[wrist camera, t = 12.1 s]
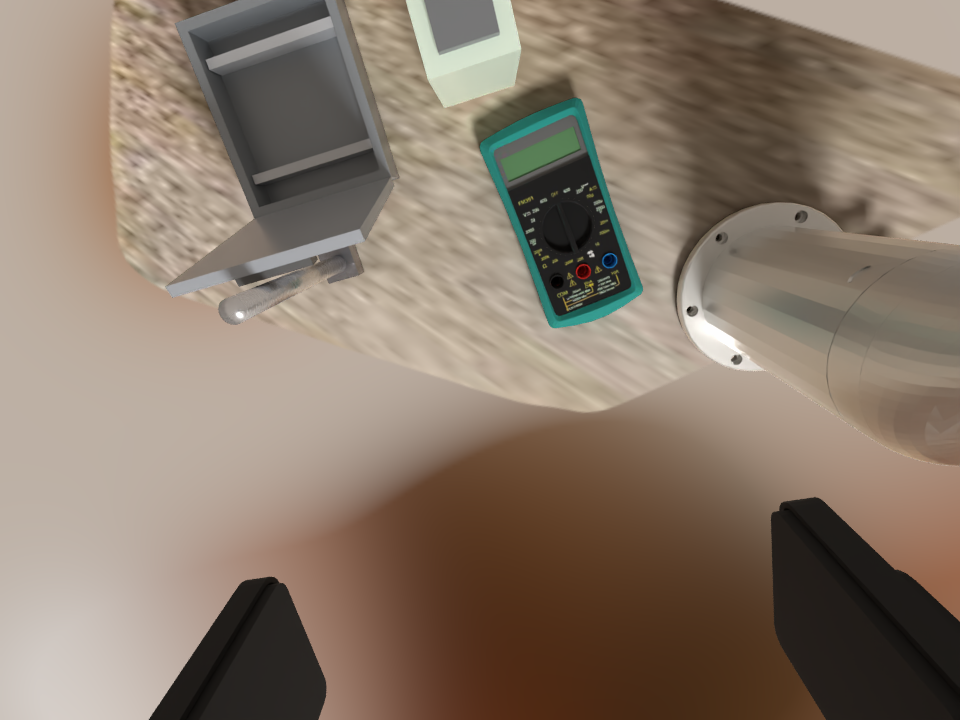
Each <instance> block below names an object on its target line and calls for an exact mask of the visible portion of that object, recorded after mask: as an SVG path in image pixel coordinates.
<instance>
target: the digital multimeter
mask: <svg viewBox="0 0 960 720" xmlns="http://www.w3.org/2000/svg"><path fill="white" fill-rule="evenodd" d="M499 147H500V148H499ZM497 148H498V149H497ZM480 151H481V154H482V156H483V158H484V161H485V163H486V165H487V167H488V170H489V172H490V174H491V176H492V179H493V181H494V183H495V185H496V188H497V190H498V192H499V194H500V197H501V199H502V201H503V203H504V206H505V208H506V211H507V213H508V215H509V218H510V220H511V223H512V225H513V228H514V230H515V233H516V235H517V237H518V240H519V242H520V245H521V247H522V250H523V253H524V256H525V258H526V261H527V264H528V267H529V269H530V272H531V275H532V278H533V280H534V283H535V286H536V289H537V292H538V294H539V297H540V300H541V303H542V306H543V309H544V312H545V315H546V318H547V321H548V323H549V325H550V326H551V327H552V328H560V327H567V326H573V325H578V324H582V323H587V322H591V321H594V320H596V319H599V318H601V317H604V316H606V315H609V314H610V313H612V312H614V311H616V310H617V309H619V308H621V307H623V306H624V305H626V304H627V303H629V302H630V301H631V300H633V299H634V298H636V297H637V296H639V295H640V294H641V293H642V291H643V286H642V284H641V281H640V278H639V276H638V273H637V271H636V268H635V266H634V263H633V260H632V258H631V255H630V253H629V250H628V247H627V244H626V242H625V239H624V236H623V233H622V231H621V228H620V225H619V222H618V219H617V217H616V214H615V211H614V208H613V205H612V202H611V198H610V195H609V192H608V189H607V186H606V182H605V179H604V176H603V173H602V170H601V167H600V163H599V160H598V156H597V152H596V149H595V145H594V142H593V138H592V134H591V131H590V127H589V124H588V120H587V116H586V113H585V109H584V106H583V103H582V101H581V99H579V98H572V99H569V100H567V101H564V102H561V103H558V104H556V105H553V106H551V107H548V108H546V109H543V110H541V111H538V112H536V113H534V114H531V115H529V116H527V117H525V118H523V119H521V120H519V121H517V122H515V123H513V124H511V125H509V126H508V127H506V128H504V129H502V130H500V131H499V132H497V133H495V134H493V135H492V136H490V137H488V138H487V139H485V140H484V141H482V142H481V144H480ZM568 198H569V199H568ZM587 206H588V207H587ZM593 216H594V217H593ZM540 221H541V222H540ZM541 238H542V239H541ZM556 253H557V254H556ZM537 268H538V269H537ZM542 281H543V282H542ZM544 286H545V287H544ZM617 293H618V294H617ZM547 294H548V295H547ZM612 295H613V296H612ZM607 297H608V298H607ZM549 299H550V300H549ZM602 299H603V300H602ZM597 301H598V302H597ZM592 303H593V304H592ZM551 304H552V305H551ZM587 305H588V306H587ZM582 307H583V308H582ZM577 309H578V310H577ZM572 311H573V312H572Z"/></svg>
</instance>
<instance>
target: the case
mask: <svg viewBox="0 0 960 720" xmlns="http://www.w3.org/2000/svg"><path fill="white" fill-rule="evenodd" d="M175 25H176V28H177V30H178V33H179V35H180V37H181V40H182V42H183V45H184V47H185V50H186V52H187V55H188V57H189V59H190V62H191V64H192V67H193V69H194V72H195V74H196V77H197V79H198V81H199V84H200V86H201V89H202V91H203V94H204V96H205V99H206V101H207V103H208V106H209V108H210V111H211V113H212V116H213V118H214V121H215V123H216V125H217V128H218V130H219V133H220V135H221V138H222V140H223V143H224V145H225V147H226V150H227V152H228V155H229V157H230V160H231V162H232V165H233V167H234V169H235V172H236V174H237V177H238V179H239V182H240V184H241V187H242V189H243V191H244V194H245V196H246V199H247V201H248V204H249V206H250V209H251V211H252V213H253V216H254V218H258V217H261V216H265V215H268V214H271V213H274V212H278V211H281V210H284V209H287V208H291V207H294V206H297V205H300V204H304V203H307V202H310V201H313V200H317V199H320V198H323V197H327V196H330V195H333V194H336V193H340V192H343V191H346V190H349V189H353V188H356V187H359V186H362V185H366V184H369V183H372V182H375V181H379V180H382V179H385V178H388V177H392V180H394V179H398V178H399V175H398V172H397V169H396V165H395V162H394V159H393V156H392V153H391V149H390V146H389V143H388V140H387V137H386V133H385V130H384V127H383V124H382V121H381V117H380V114H379V111H378V108H377V105H376V101H375V98H374V95H373V92H372V88H371V85H370V82H369V79H368V76H367V72H366V69H365V66H364V63H363V60H362V56H361V53H360V50H359V47H358V44H357V40H356V37H355V34H354V31H353V28H352V24H351V21H350V18H349V15H348V12H347V8H346V5H345V2H344V0H238V1H235V2H232V3H230V4H227V5H224V6H221V7H219V8H216V9H213V10H210V11H207V12H205V13H202V14H199V15H196V16H194V17H191V18H188V19H185V20H183V21H180V22H177V23H175Z"/></svg>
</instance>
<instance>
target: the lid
mask: <svg viewBox="0 0 960 720" xmlns="http://www.w3.org/2000/svg"><path fill="white" fill-rule="evenodd" d="M393 187H394V183H393V180H392V177H388V178H385V179H382V180H379V181H375V182H372V183H369V184H366V185H362V186H359V187H356V188H353V189H349V190H346V191H343V192H340V193H336V194H333V195H330V196H327V197H323V198H320V199H317V200H313V201H310V202H307V203H304V204H300V205H297V206H294V207H291V208H287V209H284V210H281V211H278V212H274V213H271V214H268V215H265V216H261V217H258V218H255V219H253V220H252V221H251V222H249V223H248V224H247V225H246V226H244V227H243V228H242V229H240V230H239V231H238V232H236V233H235V234H234V235H232V236H231V237H230V238H228V239H227V240H226V241H224V242H223V243H222V244H221V245H219V246H218V247H217V248H215V249H214V250H213V251H211V252H210V253H209V254H207V255H206V256H205V257H203V258H202V259H201V260H200V261H198V262H197V263H196V264H194V265H193V266H192V267H190V268H189V269H188V270H186V271H185V272H184V273H182V274H181V275H180V276H178V277H177V278H176V279H175V280H173V281H172V282H171V283H169V284H168V285H167V286H165V287H166V289H167V290H168V292H169V293H170V295H171V296H172V298H173V297H176V296H180V295H183V294H187V293H190V292H193V291H197V290H200V289H204V288H207V287H211V286H214V285H217V284H221V283H224V282H228V281H231V280H234V279H235V280H236V282H237V284H238V286H239V287H240V286H243V285H246V284H250V283H253V282H257V281H260V280H264V279H267V278H270V277H274V276H277V275H281V274H284V273H288V272H291V271H295V270H298V269H301V268H305V267H308V266H312V265H314V264H315V262H316V261H317V260H318V259H317V257H316V255H320V254H323V253H326V252H330V251H333V250H337V249H340V248H344V247H347V246H350V245H354V244H357V243H361V242H364V241H365V240H366V238H367V236H368V234H369V232H370V231H371V229H372V227H373V225H374V223H375V221H376V219H377V217H378V216H379V214H380V212H381V210H382V208H383V206H384V204H385V202H386V201H387V199H388V197H389V195H390V193H391V191H392V189H393Z"/></svg>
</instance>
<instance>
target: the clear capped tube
mask: <svg viewBox="0 0 960 720" xmlns="http://www.w3.org/2000/svg"><path fill="white" fill-rule="evenodd" d="M318 256H319V259H320V262H318V263H315V264H314V265H312V266H308V267H305V268H302V269H300V270H297V271H295V272H292V273H290V274H287V275H285V276H282V277H279V278H277V279H274V280H272V281H269V282H267V283H264V284H262V285H259V286H257V287H254V288H251V289H249V290H246V291H244V292H241V293H239V294H236V295H234V296H231V297H228V298H226V299H224V300H222V301H221V302H220V304H219V309H218V310H219V314H220V316H221V318H222V319H223V320H224V321H225V322H227V323H229V324H233V325H237V324H240V323H241V322H244V321H246V320H248V319H250V318H252V317H253V316H255V315H257V314H259V313H261V312H263V311H265V310H267V309H269V308H271V307H273V306H275V305H277V304H279V303H281V302H283V301H285V300H287V299H289V298H291V297H293V296H294V295H296V294H298V293H300V292H302V291H304V290H306V289H308V288H310V287H312V286H314V285H316V284H318V283H320V282H322V281H324V280H326V279H327V280H328V283H333V282H336V281H340V280H343V279H347V278H350V277H354V276H357V275H360V274H362V273H363V272H364V270H363V267H362V264H361V261H360V258H359V255H358V253H357V250H356V247H355V244H354V245H350V246H347V247H344V248H340V249H337V250H333V251H330V252H326V253H323V254H320V255H318Z"/></svg>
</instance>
